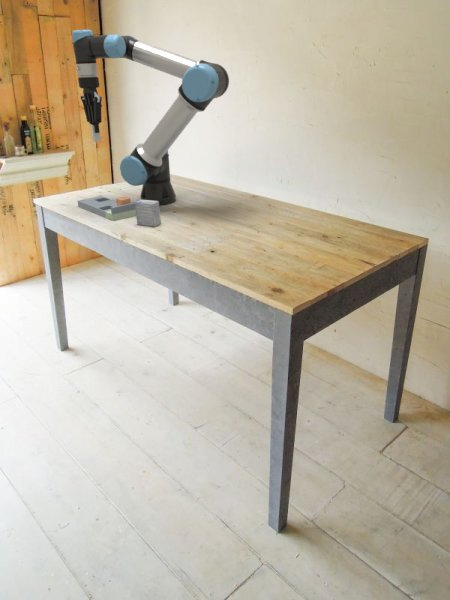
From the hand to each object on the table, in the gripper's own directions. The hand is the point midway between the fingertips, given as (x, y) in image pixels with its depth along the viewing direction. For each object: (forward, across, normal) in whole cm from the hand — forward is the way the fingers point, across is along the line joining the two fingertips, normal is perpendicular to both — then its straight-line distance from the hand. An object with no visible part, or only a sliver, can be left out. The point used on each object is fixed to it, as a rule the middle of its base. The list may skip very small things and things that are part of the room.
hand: (96, 141), depth 199 cm
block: (+24, +17, -1) cm, 29 cm away
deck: (+26, +6, -3) cm, 27 cm away
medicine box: (+27, +35, -1) cm, 44 cm away
